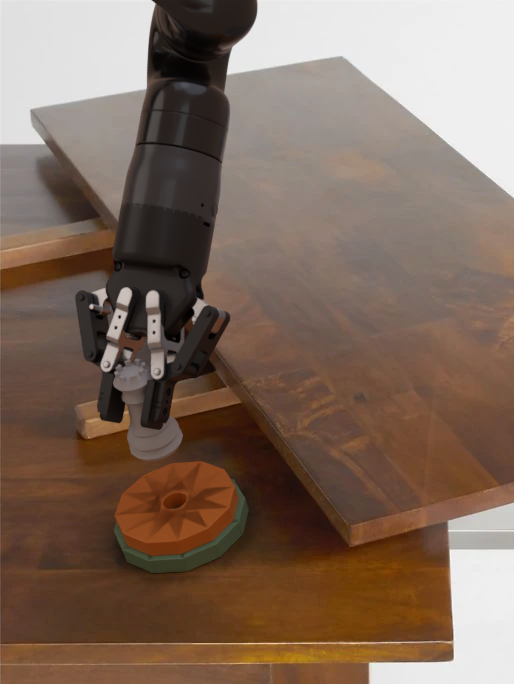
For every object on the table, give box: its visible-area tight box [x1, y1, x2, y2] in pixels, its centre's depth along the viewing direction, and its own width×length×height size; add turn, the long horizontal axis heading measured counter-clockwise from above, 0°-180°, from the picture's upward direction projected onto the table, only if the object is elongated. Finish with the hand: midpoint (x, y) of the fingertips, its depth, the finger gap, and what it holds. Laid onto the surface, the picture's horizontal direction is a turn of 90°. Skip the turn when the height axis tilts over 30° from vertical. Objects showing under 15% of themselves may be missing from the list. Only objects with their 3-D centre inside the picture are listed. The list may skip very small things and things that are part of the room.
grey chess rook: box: [113, 358, 184, 462], centre depth 111 cm, size 4×4×8 cm
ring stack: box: [112, 460, 250, 574], centre depth 117 cm, size 11×11×3 cm
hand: (130, 424), depth 109 cm, fingers closed on grey chess rook, 3 cm apart
